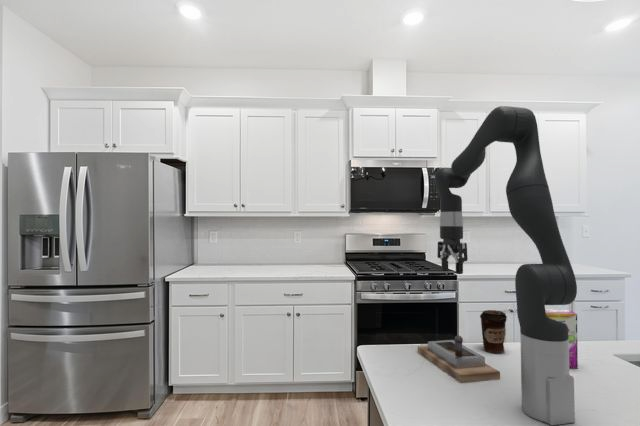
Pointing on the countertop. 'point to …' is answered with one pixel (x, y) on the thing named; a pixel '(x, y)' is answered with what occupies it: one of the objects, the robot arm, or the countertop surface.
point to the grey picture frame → (467, 361)
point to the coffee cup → (493, 330)
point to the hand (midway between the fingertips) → (451, 272)
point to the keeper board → (464, 373)
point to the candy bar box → (571, 323)
